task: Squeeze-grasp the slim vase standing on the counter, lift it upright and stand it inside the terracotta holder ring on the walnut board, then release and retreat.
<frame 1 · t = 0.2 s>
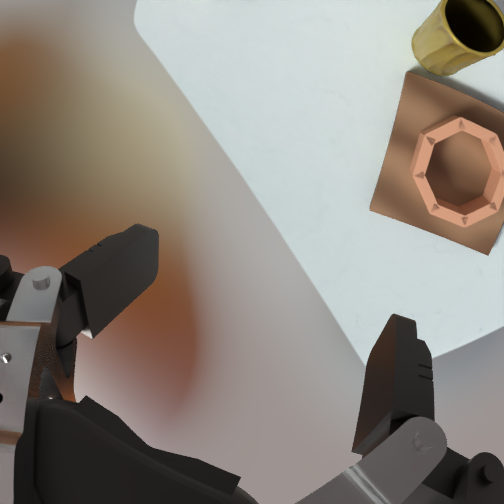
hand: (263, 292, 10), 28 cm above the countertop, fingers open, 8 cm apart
holder ring: (461, 170, 27), on the board, point 3 cm above the countertop
board: (454, 165, 30), on the countertop
vase: (438, 49, 25), on the countertop
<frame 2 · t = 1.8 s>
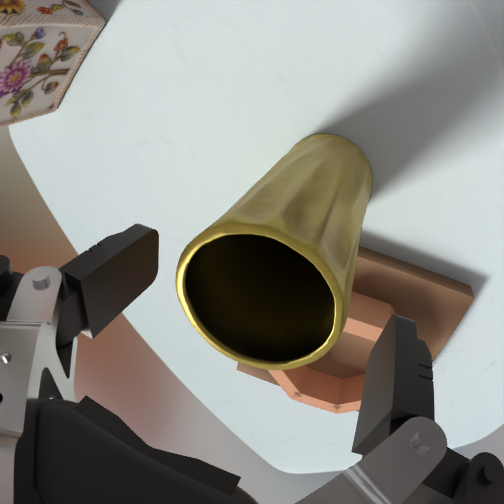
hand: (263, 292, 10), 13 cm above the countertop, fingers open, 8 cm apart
holder ring: (338, 357, 24), on the board, point 2 cm above the countertop
board: (343, 332, 26), on the countertop
decorative jar: (57, 39, 22), on the countertop
vase: (327, 178, 21), on the countertop
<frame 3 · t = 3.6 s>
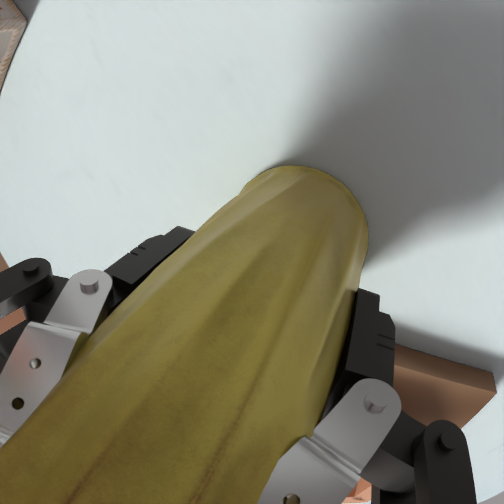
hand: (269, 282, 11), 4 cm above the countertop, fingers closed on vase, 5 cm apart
holder ring: (311, 454, 17), on the board, point 2 cm above the countertop
board: (322, 417, 19), on the countertop
vase: (299, 232, 14), on the countertop, touching gripper
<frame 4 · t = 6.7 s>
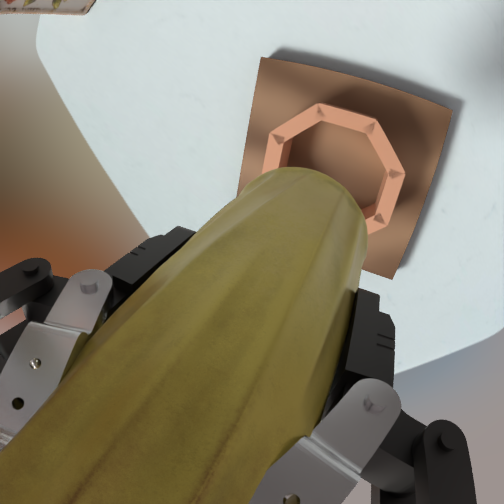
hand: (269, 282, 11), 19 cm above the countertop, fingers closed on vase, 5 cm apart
holder ring: (332, 173, 24), on the board, point 3 cm above the countertop
board: (336, 166, 27), on the countertop
vase: (298, 233, 14), point 15 cm above the countertop, touching gripper
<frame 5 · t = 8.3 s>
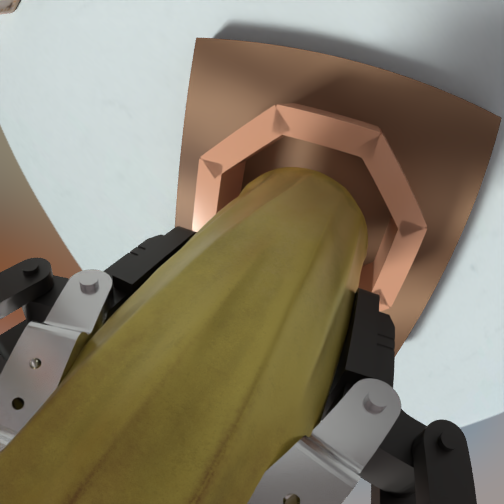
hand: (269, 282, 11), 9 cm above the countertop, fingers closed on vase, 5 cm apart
holder ring: (306, 220, 15), on the board, point 2 cm above the countertop
board: (316, 201, 18), on the countertop
vase: (298, 233, 14), point 5 cm above the countertop, touching gripper
when the fingers open (7 cm above the countertop, at t = 9.7 s): vase drops 1 cm, resting on board.
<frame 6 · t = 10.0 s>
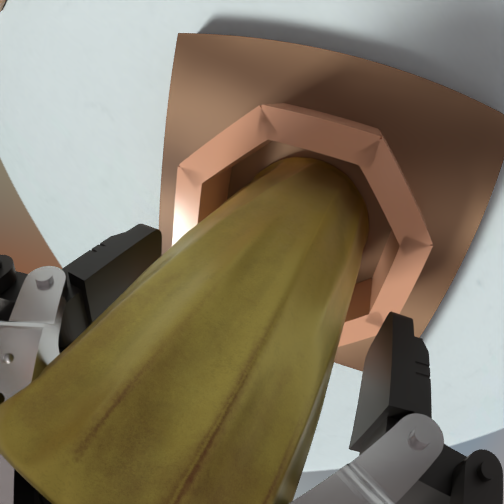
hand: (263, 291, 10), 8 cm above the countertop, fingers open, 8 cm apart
holder ring: (297, 234, 14), on the board, point 2 cm above the countertop
board: (310, 211, 16), on the countertop
vase: (305, 219, 15), point 1 cm above the countertop, touching board
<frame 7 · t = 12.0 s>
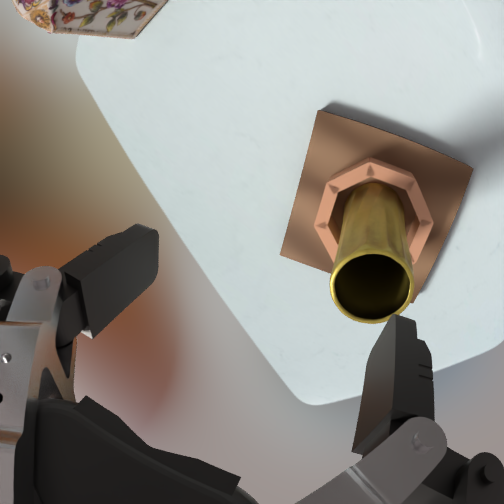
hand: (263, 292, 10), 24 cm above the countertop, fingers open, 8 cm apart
holder ring: (374, 218, 29), on the board, point 3 cm above the countertop
board: (374, 209, 31), on the countertop
vase: (374, 212, 30), point 1 cm above the countertop, touching board
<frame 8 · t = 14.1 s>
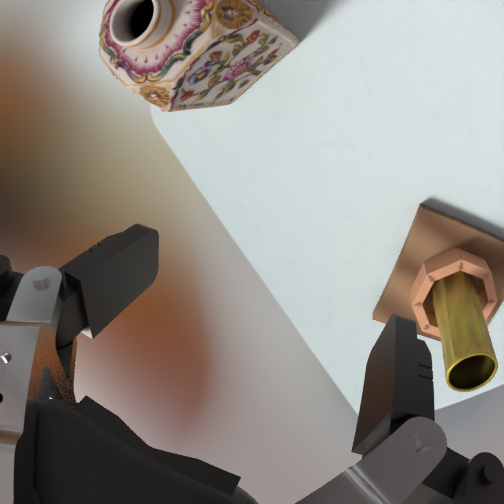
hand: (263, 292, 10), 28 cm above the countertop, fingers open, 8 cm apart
holder ring: (454, 296, 33), on the board, point 2 cm above the countertop
board: (450, 282, 35), on the countertop
decorative jar: (234, 41, 32), on the countertop
vase: (452, 287, 34), point 1 cm above the countertop, touching board
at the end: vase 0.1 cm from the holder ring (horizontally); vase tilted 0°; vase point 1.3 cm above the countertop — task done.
